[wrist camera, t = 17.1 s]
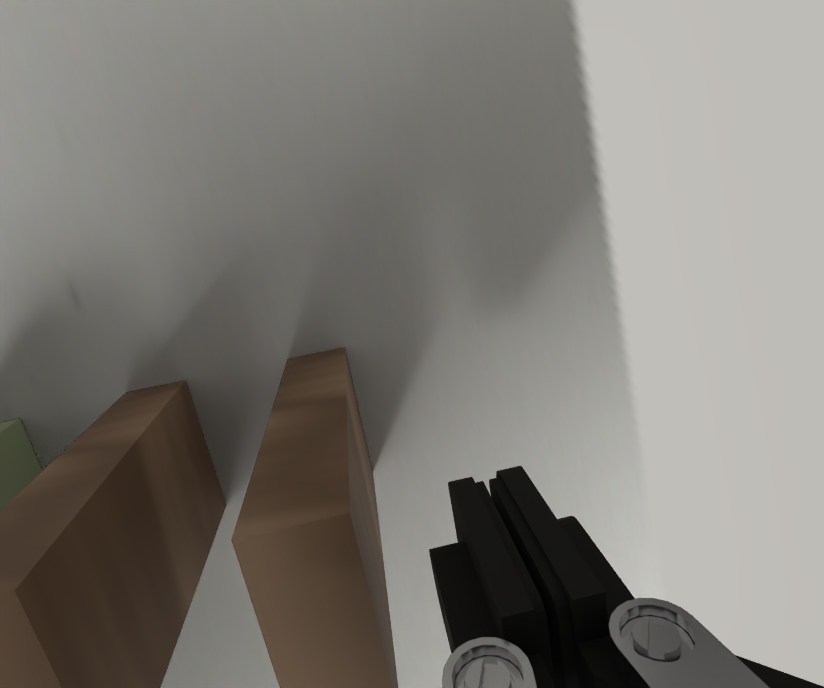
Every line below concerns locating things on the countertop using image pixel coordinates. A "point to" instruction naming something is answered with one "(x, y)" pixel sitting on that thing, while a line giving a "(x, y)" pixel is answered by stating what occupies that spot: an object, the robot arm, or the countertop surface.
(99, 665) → the domino
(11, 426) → the olive domino
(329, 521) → the domino
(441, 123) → the countertop surface
